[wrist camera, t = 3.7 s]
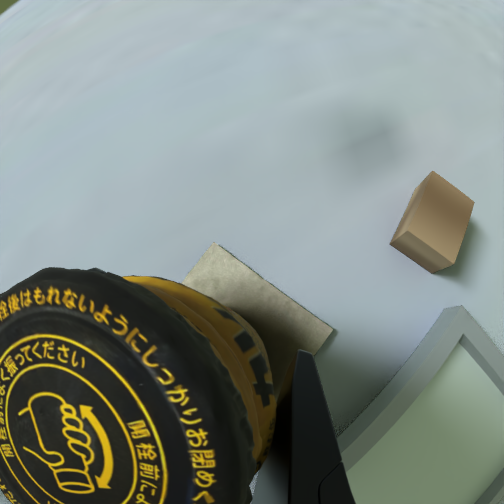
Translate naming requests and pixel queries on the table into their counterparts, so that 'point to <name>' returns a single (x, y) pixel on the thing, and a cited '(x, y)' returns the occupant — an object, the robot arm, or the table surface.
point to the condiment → (143, 383)
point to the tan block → (433, 224)
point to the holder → (434, 424)
